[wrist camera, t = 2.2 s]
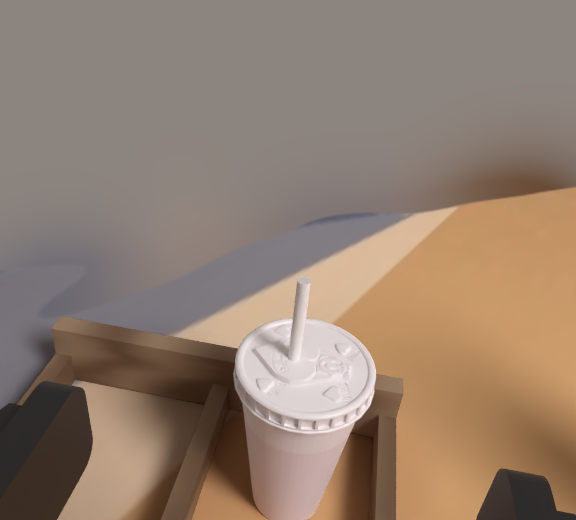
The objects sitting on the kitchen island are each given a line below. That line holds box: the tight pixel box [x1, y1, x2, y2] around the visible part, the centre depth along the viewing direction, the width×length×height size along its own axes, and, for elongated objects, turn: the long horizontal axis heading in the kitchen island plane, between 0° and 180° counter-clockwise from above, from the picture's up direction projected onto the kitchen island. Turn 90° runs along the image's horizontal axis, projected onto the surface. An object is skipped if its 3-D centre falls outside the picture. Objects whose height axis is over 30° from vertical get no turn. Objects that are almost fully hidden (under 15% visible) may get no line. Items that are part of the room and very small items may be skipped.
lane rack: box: [17, 316, 403, 520], centre depth 29 cm, size 21×13×4 cm, turn 81°
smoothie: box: [233, 277, 376, 520], centre depth 26 cm, size 6×6×14 cm
